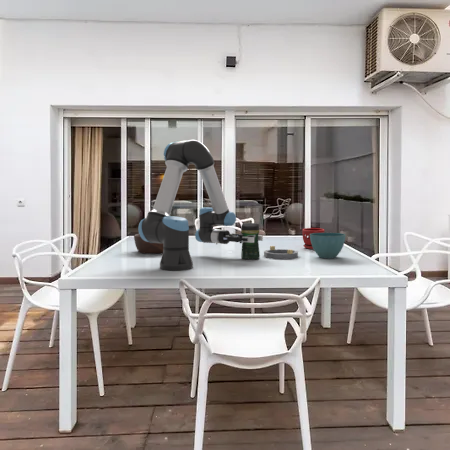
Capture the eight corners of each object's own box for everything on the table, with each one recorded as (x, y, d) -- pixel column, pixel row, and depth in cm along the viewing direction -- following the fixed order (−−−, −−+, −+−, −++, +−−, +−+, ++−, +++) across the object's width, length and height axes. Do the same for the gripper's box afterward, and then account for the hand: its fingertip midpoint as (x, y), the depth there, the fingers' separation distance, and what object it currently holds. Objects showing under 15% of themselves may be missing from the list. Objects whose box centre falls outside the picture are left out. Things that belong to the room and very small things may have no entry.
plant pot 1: (297, 247, 247) (298, 228, 246) (314, 246, 253) (314, 227, 252) (311, 250, 236) (312, 230, 235) (328, 248, 242) (329, 229, 241)
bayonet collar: (295, 259, 204) (295, 250, 204) (261, 258, 210) (261, 249, 209) (299, 254, 221) (299, 246, 221) (268, 253, 226) (268, 245, 226)
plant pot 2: (305, 258, 207) (305, 235, 206) (314, 253, 223) (315, 231, 222) (341, 261, 199) (341, 236, 198) (348, 255, 215) (348, 233, 214)
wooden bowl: (130, 250, 243) (129, 233, 242) (170, 247, 253) (169, 231, 252) (139, 256, 220) (139, 237, 219) (183, 252, 230) (182, 235, 230)
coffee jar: (259, 257, 212) (259, 222, 210) (259, 259, 204) (259, 223, 202) (241, 257, 212) (241, 222, 211) (240, 259, 204) (240, 223, 203)
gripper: (231, 241, 226) (267, 243, 214) (210, 245, 208) (248, 248, 196) (231, 228, 226) (267, 230, 213) (209, 231, 208) (248, 233, 196)
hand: (258, 239), depth 205 cm, fingers closed on coffee jar, 9 cm apart
